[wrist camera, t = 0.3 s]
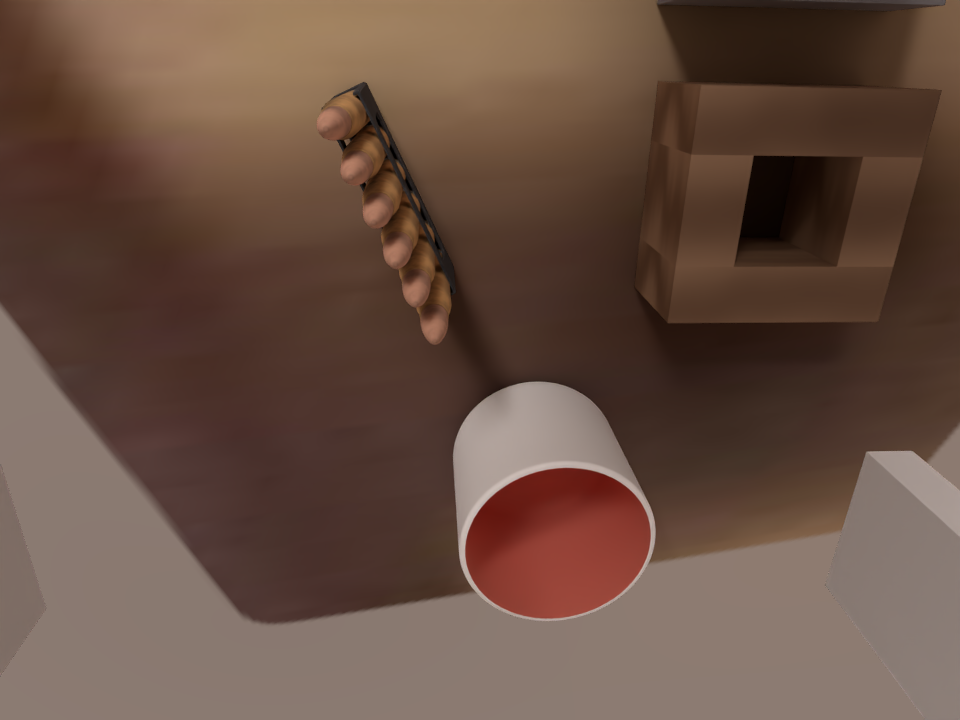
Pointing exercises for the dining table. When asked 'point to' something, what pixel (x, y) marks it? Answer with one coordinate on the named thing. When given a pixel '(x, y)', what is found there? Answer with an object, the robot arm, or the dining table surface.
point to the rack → (809, 206)
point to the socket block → (815, 4)
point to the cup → (547, 505)
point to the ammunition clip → (392, 205)
